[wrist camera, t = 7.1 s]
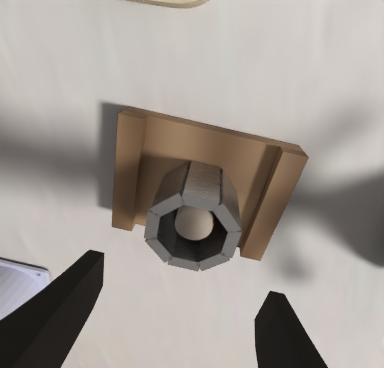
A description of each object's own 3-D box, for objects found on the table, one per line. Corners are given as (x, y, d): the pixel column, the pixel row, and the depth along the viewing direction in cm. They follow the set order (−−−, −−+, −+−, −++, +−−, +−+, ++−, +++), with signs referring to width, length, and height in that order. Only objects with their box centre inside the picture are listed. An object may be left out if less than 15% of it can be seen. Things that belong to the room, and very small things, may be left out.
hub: (157, 217, 20) (141, 258, 16) (167, 154, 17) (151, 185, 13) (224, 232, 20) (224, 277, 16) (244, 172, 17) (251, 208, 13)
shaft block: (121, 211, 21) (92, 257, 17) (129, 106, 17) (93, 128, 12) (256, 242, 22) (266, 297, 17) (298, 145, 17) (328, 182, 12)
